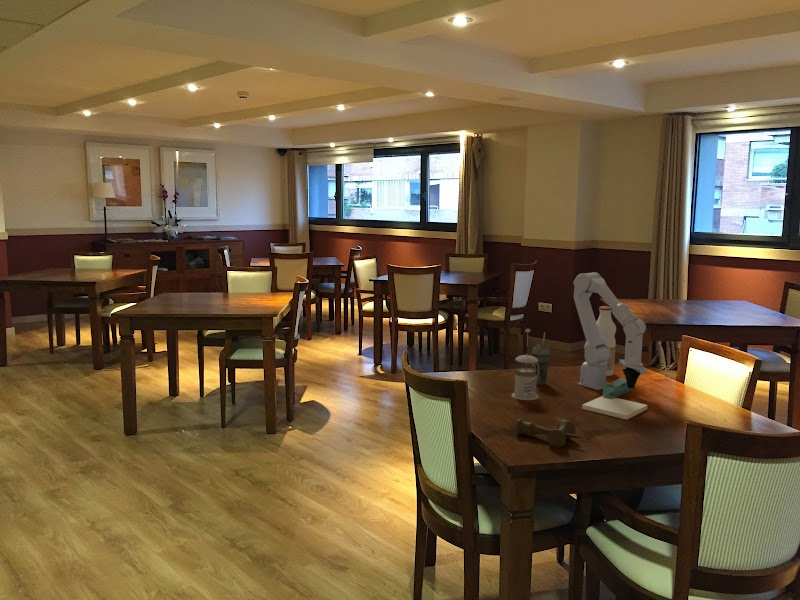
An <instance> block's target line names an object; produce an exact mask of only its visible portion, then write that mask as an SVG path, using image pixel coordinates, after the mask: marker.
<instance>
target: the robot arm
mask: <svg viewBox="0 0 800 600" xmlns="http://www.w3.org/2000/svg"><path fill="white" fill-rule="evenodd" d="M572 283H573V286H574V288H573V299H574V300H573V301H574V304H575V307H576V311H577V313H578V316H579V320H580V325H581V327H582V330H583V334H584V337H585V343H584V345H583V350H584V360H585V361H584V362H583V363H582V364H581V366H580V372H579V373H580V374H579V382H578V385H579V386H582V387H587V388H590V389H592V390H596V391H599V390H603V387H604V385H606V384H607V376H606V374H607V361H608V360H609V359H610V357H611V351H610V349H609V348H608V347H607V345H606V342H605V341H604V340H603V339H602V338H601V337H600V334H599V330H598V327H597V324H596V321H597V320H596V318H595V314H594V310H593V308H592V304H591V301H590V298H591V296H592V294H593V293H596V294H598V295H599V296H600V297H601V299H603V300H604V301H605V302H606V304H607V305H609V307H612V311H611V314H613V316H614V317H615V319H616V320H617V321H618V322H619V323H620V324H621V326H622V327H623V332H624V334H625V348H624V359H618V365H619V366H623V367H625V368H623V369H622V372H623V375H624V377H625V379H626V381H627V386H628V388H629V389H632V390H633V389H635V387H636V384H637V381H638V379H639V377H641V375H646V374H647V368H646V367H644V363H642V352H643V339H644V338H643V335H644V333H645V332H646V330H647V325H646V323H645V321H644V320H643V319H641V318H638V316H637V315H635V313H633V311H632V310H631V309H630V308H631V307H630V306H629V305H628V304H626V303H623V302H620V301H619V299H618V298H617V296H615V294H614V292H613V291H612V290H611V288H609V286H608V285H607V283H606V281H605V279H604V278H603V277H602V276H601V274H600V273H598V272H597V271H596V272H595V271H593V272H587V273H583V272H582V273H579V274H577V276H576V277H575V278H574V280H573V281H572Z"/></svg>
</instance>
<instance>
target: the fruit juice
mask: <svg viewBox="0 0 800 600" xmlns="http://www.w3.org/2000/svg"><path fill="white" fill-rule="evenodd" d="M598 311H599V316H598V319H597V320H596V324H597V327H598V330H599V334H600V337H601V338H602V339H603V340H604V341H605V342H606V345H607V347H608V348H609V349H610V351H611V357H610V359H609V360H608V361H607V374H606V377H610V376H611V377H612V376H613V375H614V373H615V372H614V371H615V359H616V358H615V357H616V342H617V341H616V338H615V335H616V332H617V326H616V324H615V322H614V321H613V318H612V307H611V306H606V305H602V306H599V309H598Z"/></svg>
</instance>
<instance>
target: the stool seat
mask: <svg viewBox="0 0 800 600" xmlns="http://www.w3.org/2000/svg"><path fill="white" fill-rule="evenodd" d="M581 409H582V410H585V411H589V412H593V413H598V414H600V415H601V414H602V415H605V416H610V417H614V418H619V419H622V420H630V419H631V418H633V417H635V416H637V415H639V414H641V413H643V412H644V411H646V410H648V404H645V403H641V402H636V401H631V400H626V399H624V398H623V399H622V398H619V397H617V398H614V396H610V395H604V396H603V395H602V396H599V397H597V398H594V399H592V400H590V401H587V402H585V403H583V404H582V407H581Z"/></svg>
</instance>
